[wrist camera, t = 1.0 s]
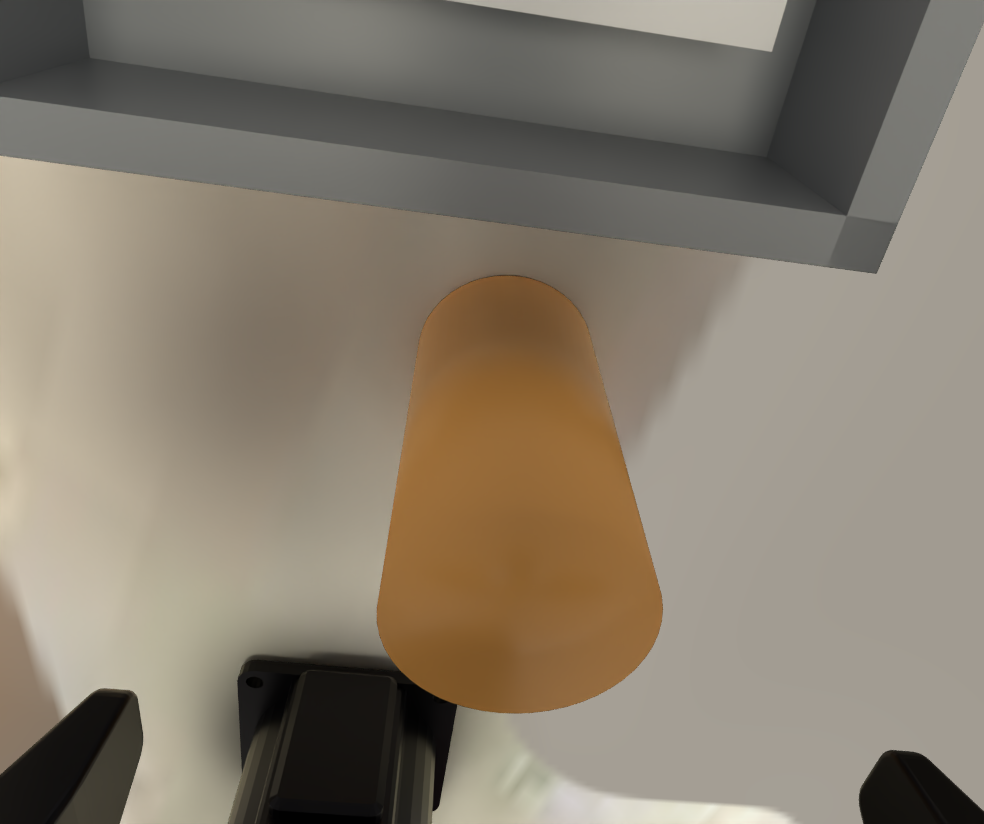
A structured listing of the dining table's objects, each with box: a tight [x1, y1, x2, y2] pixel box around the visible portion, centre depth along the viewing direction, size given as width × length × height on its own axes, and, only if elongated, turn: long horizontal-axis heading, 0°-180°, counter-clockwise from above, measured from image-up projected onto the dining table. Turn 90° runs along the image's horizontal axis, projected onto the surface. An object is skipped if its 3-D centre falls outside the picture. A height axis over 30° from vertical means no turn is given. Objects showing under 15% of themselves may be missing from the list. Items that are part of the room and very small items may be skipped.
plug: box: [377, 275, 663, 713], centre depth 14 cm, size 4×4×8 cm
